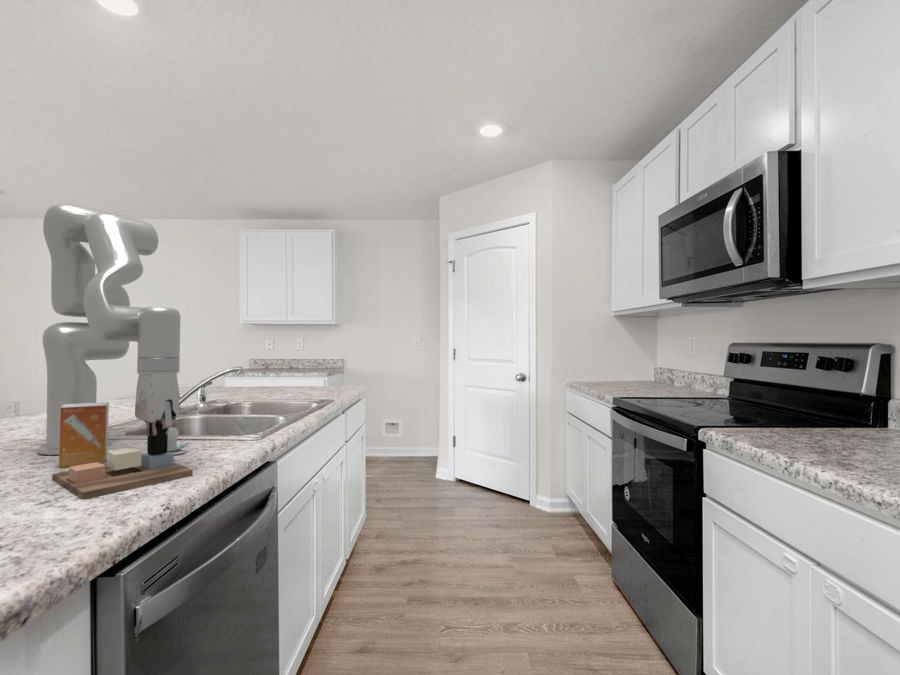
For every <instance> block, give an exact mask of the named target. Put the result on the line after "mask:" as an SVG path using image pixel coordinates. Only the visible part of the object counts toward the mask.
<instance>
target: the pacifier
mask: <svg viewBox="0 0 900 675" xmlns="http://www.w3.org/2000/svg"><path fill="white" fill-rule="evenodd" d="M178 437H179V429H178V428H176V427H174V426H172V427H171V428H169V432H168V442H167V452H170V453H173V454H174V456H178V455H182V454H185V453H186V452H187V451H186V450H184V449H183V448H185V447H187V446H188V445H189V443H190V442H189V441H187V442H185V443H182V444H179V445H177V439H178Z"/></svg>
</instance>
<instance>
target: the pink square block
mask: <svg viewBox="0 0 900 675" xmlns="http://www.w3.org/2000/svg"><path fill="white" fill-rule="evenodd" d="M105 465H106V464H103V463H98V462H95V463H89V464H83V465H77V466H68V471H69V481H70V482H71V483H73V484H80V483H85V482H90V481H95V480H100V479H105Z"/></svg>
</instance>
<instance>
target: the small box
mask: <svg viewBox="0 0 900 675" xmlns="http://www.w3.org/2000/svg"><path fill="white" fill-rule="evenodd" d="M109 408H110V401H104V402H103V401H102V402H101V401H100V402H96V403H80V404H64V405H63V406H62V407H61V412H60V441H59V455H58V467H59V468H64V467H65V468H66V467H67V468H68V467H72V466H77V465H83V464H89V463H95V462H98V463H100V464H106V462H107V451H109V446H108V445H109V443H108V442H109V410H110V409H109Z"/></svg>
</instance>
